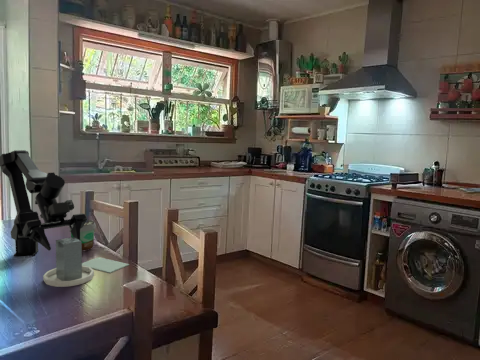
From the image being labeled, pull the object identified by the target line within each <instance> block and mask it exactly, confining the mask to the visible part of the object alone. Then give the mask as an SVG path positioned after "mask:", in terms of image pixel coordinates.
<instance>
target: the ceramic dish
mask: <svg viewBox="0 0 480 360" xmlns="http://www.w3.org/2000/svg"><path fill="white" fill-rule="evenodd" d="M94 276H95V269H92V268H91V267H87V266H83V265H82V278H79V279H76V280H71V281H61V280H60V279H58V278H57V274H56V267H55V268H52V269H50V270H47V271H46V272H45V273H44V275H43V276H42V277H43V278H42V279H43V282H44V283H45V284H46V285H47V286H51V287H56V288H57V287H58V288H59V287H61V288H63V287H64V288H65V287H73V286H78V285H82V284H85V283H87V282H89V281H91V280H92V279H93V278H94Z"/></svg>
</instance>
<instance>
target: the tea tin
mask: <svg viewBox="0 0 480 360" xmlns="http://www.w3.org/2000/svg"><path fill="white" fill-rule="evenodd" d="M82 252H83V251H82V241H81V240H79V239H76V238H74V237H71V236H70V237H65V238H61V239H56V240H55V264H56V265H55V266H56V267H55V268H56V274H57V278H58V279H60V280H61V281H71V280H76V279H79V278H82V263H83V258H82V257H83V256H82V255H83V254H82Z"/></svg>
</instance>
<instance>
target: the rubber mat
mask: <svg viewBox="0 0 480 360" xmlns="http://www.w3.org/2000/svg"><path fill="white" fill-rule="evenodd" d="M82 265H83V266H87V267H91V268H92V269H93V270H94V271H95V270H96V271H100V272H103V273H107V274H113V273H115V272H116V271H118V270H121V269H123V268H126V267H128V266H130V264H129V263H125V262H122V261H117V260H113V259H108V258H104V257H100V256H98V257H96V258H92V259H90V260H87V261H84V262H82Z"/></svg>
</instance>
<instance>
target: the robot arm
mask: <svg viewBox="0 0 480 360" xmlns="http://www.w3.org/2000/svg"><path fill="white" fill-rule="evenodd" d="M0 169H1V172H2V173H3V174H4V175H5V176H6V177H7V178H8V180H9V181H8V182H9V185H10V189H11V194H12V197H13V201H14V202H13V203H14V206H15V211H16V215H15V218H14V220H13V226H12V228H11V231H10V237H11V239H12V240H14V243H15V244H14V245H15V252H14V254H13V256H14V257H21V256H24V257H29V256H32V257H33V256H34V255H35V254H36V253H37V252H39V245H41V246H43V248H45V249H46V250H47V251H49V252H50V251H51V249H52V247H51V244H50V242H49V240H48V238H47V236H46V235H47V234H46V233H45V230H47V229H48V230H49V229H55V228H63V227H68V226H69V229H70V228H71V229H72V230H71V232H70V234H71V233H72V235H73V237H74V238H76V239H79V240H80V229H81V228H82V227H83V226H84V224H85V223H86V222H88V216H87V215H86V213H77V214H72V215H71V218H70V219H65V218H67V215H68V213H70V211H72V210H74V209H75V204H74V202H73V200H72V199H67V200H65V201H63V202H58V201H57V198H58V197H60V194H61V192H62V190H63V188H64V186H65V184H66V183H65V181H66V180H64V178H63V177H61V176H60V175H58V174H56V173H55V172H44V171H42V170H41V169H39V168H38V166H37V165H36V164H35V162H34V161H33V158H31V156H30V153H29V151H28V150H25V149H24V150H22V149H21V150H19V149H17V150H16V149H15V150H11V151H10V152H7V153H2V154H1V155H0ZM24 177H25V178H24ZM25 179H26V180H25ZM28 193H30V194H36V196H35V198H34V199H35V201H34V204H35V205H37V206H38V208H39V211H40V215H39V213H38V211H34V210H33V209H32V207H31V204H30V200H29V195H28ZM39 217H40V218H39ZM41 219H43V222H42V221H41Z"/></svg>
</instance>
